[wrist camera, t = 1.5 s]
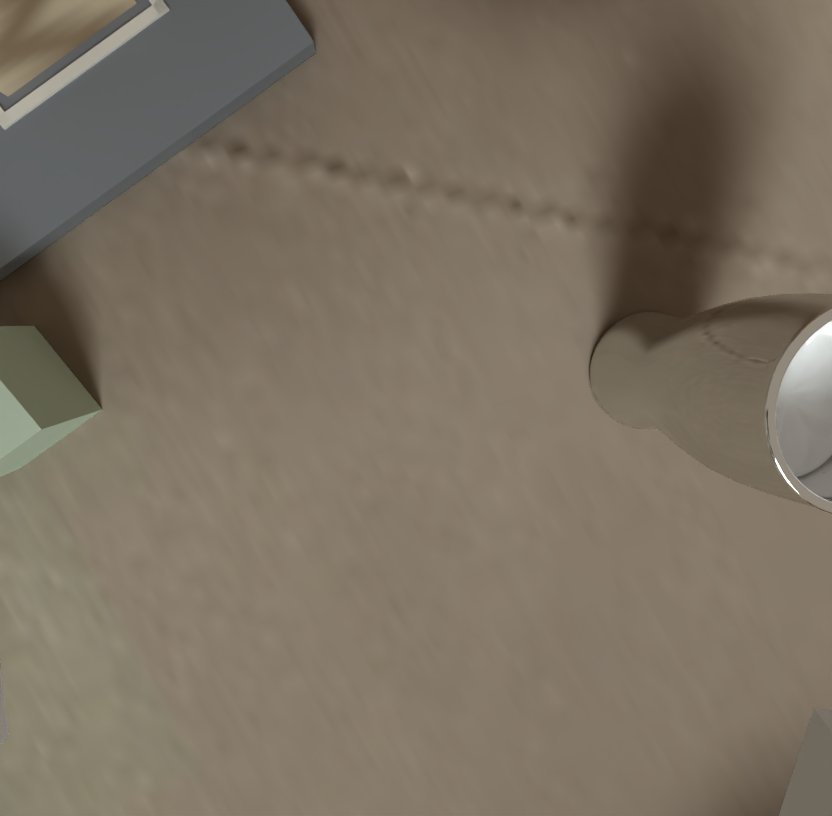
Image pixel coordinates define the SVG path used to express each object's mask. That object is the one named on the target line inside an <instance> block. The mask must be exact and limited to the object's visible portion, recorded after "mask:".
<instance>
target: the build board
mask: <svg viewBox="0 0 832 816" xmlns="http://www.w3.org/2000/svg"><path fill="white" fill-rule="evenodd" d="M135 1H136V3H137V4H135V5H134V6H132V7H131V8H130V9H128V10H127V11H126V12H124V13H123V14H121V15H120V16H119V17H117V18H116V19H115V20H113V21H112V22H110V23H109V24H108V25H106V26H105V27H104V28H102V29H101V30H99V31H98V32H97V33H95V34H94V35H92V36H91V37H90V38H88V39H87V40H86V41H84V42H83V43H81V44H80V45H79V46H77V47H76V48H75V49H73V50H72V51H70V52H69V53H68V54H66V55H65V56H64V57H62V58H61V59H59V60H58V61H57V62H55V63H54V64H53V65H51V66H50V67H48V68H47V69H46V70H44V71H43V72H41V73H40V74H39V75H37V76H36V77H35V78H33V79H32V80H30V81H29V82H28V83H26V84H25V85H24V86H22V87H21V88H19V89H18V90H17V91H15V92H14V93H13V94H11V95H10V96H6V95H4V94H3V93H1V92H0V281H1V280H2V279H4V278H5V277H6V276H8V275H9V274H11V273H12V272H13V271H15V270H16V269H17V268H19V267H20V266H22V265H23V264H24V263H26V262H27V261H29V260H30V259H31V258H33V257H34V256H35V255H37V254H38V253H40V252H41V251H42V250H44V249H45V248H47V247H48V246H49V245H51V244H52V243H53V242H55V241H56V240H58V239H59V238H60V237H62V236H63V235H65V234H66V233H67V232H69V231H70V230H71V229H73V228H74V227H76V226H77V225H78V224H80V223H81V222H83V221H84V220H85V219H87V218H88V217H89V216H91V215H92V214H94V213H95V212H96V211H98V210H99V209H101V208H102V207H103V206H105V205H106V204H107V203H109V202H110V201H112V200H113V199H114V198H116V197H117V196H119V195H120V194H121V193H123V192H124V191H125V190H127V189H128V188H130V187H131V186H132V185H134V184H135V183H137V182H138V181H139V180H141V179H142V178H143V177H145V176H146V175H148V174H149V173H150V172H152V171H153V170H155V169H156V168H157V167H159V166H160V165H161V164H163V163H164V162H166V161H167V160H168V159H170V158H171V157H173V156H174V155H175V154H177V153H178V152H179V151H181V150H182V149H184V148H185V147H186V146H188V145H189V144H191V143H192V142H193V141H195V140H196V139H197V138H199V137H200V136H202V135H203V134H204V133H206V132H207V131H209V130H210V129H211V128H213V127H214V126H215V125H217V124H218V123H220V122H221V121H222V120H224V119H225V118H227V117H228V116H229V115H231V114H232V113H233V112H235V111H236V110H238V109H239V108H240V107H242V106H243V105H245V104H246V103H247V102H249V101H250V100H251V99H253V98H254V97H256V96H257V95H258V94H260V93H261V92H263V91H264V90H265V89H267V88H268V87H269V86H271V85H272V84H274V83H275V82H276V81H278V80H279V79H281V78H282V77H283V76H285V75H286V74H287V73H289V72H290V71H292V70H293V69H294V68H296V67H297V66H299V65H300V64H301V63H303V62H304V61H305V60H307V59H308V58H310V57H311V56H312V55H314V54H315V53H316V51H315V45H314V41H313V40H312V38H311V37H310V35H309V34H308V32H307V31H306V29H305V28H304V26H303V25H302V23H301V22H300V20H299V19H298V17H297V16H296V14H295V13H294V11H293V10H292V8H291V7H290V5H289V4H288V2H287V1H286V0H135Z"/></svg>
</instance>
